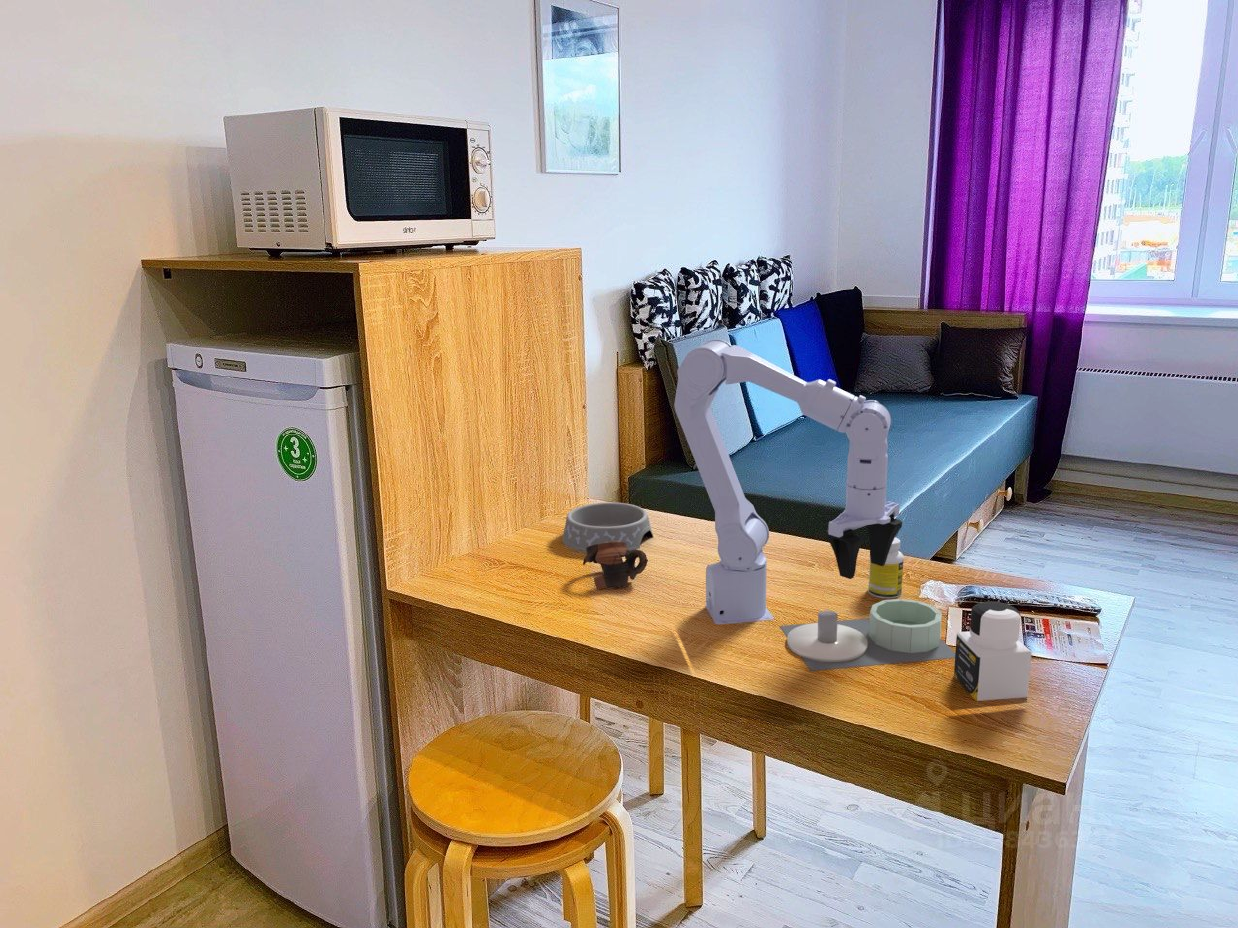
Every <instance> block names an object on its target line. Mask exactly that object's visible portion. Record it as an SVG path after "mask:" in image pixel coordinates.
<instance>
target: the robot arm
mask: <svg viewBox="0 0 1238 928" xmlns="http://www.w3.org/2000/svg"><path fill="white" fill-rule="evenodd" d="M676 372H677V377H678V379H677V384H676V390H675V391H676V392H675V398H674V404H673V407H674V411H675V414H676V417H677V419H678V421H679V423H680V426H681V428H682V431H683V433H684V436H685V439H686V441H687V444H688V447H689V449H690V451H691V455H692V456H693V459H694V461H695V465H696V467H697V469H698V472H699V475H700V478H701V479H702V483H703V486H704V487H705V489H706V492H707V494H708V498H709V500H710V502H711V505H712V507H713V509H714V519H715V520H714V530H715V533H716V536H717V541H718V542H717V543H718V544H717V554H718V556H719V559H720V561H717V562H716V563H711V564H708V565H706V569H705V604H704V607H705V608H706V610H707V612H708V613H709V615H710V617H711V619H712V620H713V623H714V624H715V625H727V624H738V623H751V622H761V621H772V620H774V619H775V617H773V614H772V613H771V612H770V611H769V609H768V608H767V563H768V561H767V556H766V555H765V554H764V551H763V548H764V547H765V546H766V544H767V543H768V542H769V538H770V530H769V526H768V524H767V523H766V521H765V520H764V519H763V518H762V517H761V516H760V515H759V514H758V513H757V511H756V509H755V507H754V505H753V504H752V503H751V502H750V500H748V499H747V498H746V497H745V493H744V492H743V489H742V485H741V484H740V481H739V479H738V475H737V473H736V470H735V467H734V466H733V463H732V460H731V458H730V455H729V453H728V450H727V448H726V444H725V442H724V439H723V436H722V433H721V432H720V430H719V427H718V424H717V422H716V419H715V416H714V414H713V411H712V409H711V404H712V402H713V400H714V398H715V397H716V395H717V393H718V390H719V388H720V387H721V385H722V384H723V383H725V385H732V384H733V385H734V384H740V383H745V382H746V383H747V382H750V383H751V384H754V385H756V386H759V387H760V388H764V389H765V390H767V391H770V392H773V393H775V394H778V395H779V396H782V397H784V398H787V399H789V400H790V401H794V402H796V403H797V405H798V407H799V409H800V412H801V414H802V415H804V416H805V417H808V418H810V419H811V420H813V421H816V422H818V423H820V424H822V425H824V426H826V427H828V428H830V429H832V430H835V431H836V432H838V433H844V434H846V436H847V439H848V440H849V447H848V449H849V451H848V454H847V467H846V469H847V470H846V490H845V492H846V493H845V509H844V510H843V512H842V513H841V512H840V514H839V515H838V516H836V517H835V519H833V520H831V521H829V522H828V528H827V529H826V530H825V538H826V539H827V541H828V543H829V544H830V546H831V548H832V551H833V553H834V556H835V561H836V564H837V568H838V573H839V576H840V577H843V578H846V579H848V580H852V579H854V577H855V575H856V569H857V560H858V555H859V552H860V549H861V547H862V544H863V542H864V540H865V538H863V537H860V536H857V535H855V534H856V533H854V530H857V529H859V528H863V527H866V528H867V532H868V539H869V560H870V559H871V563H873V564H876V565H880V566H884V565H885V562H886V559H887V556H888V553H889V550H890V547H891V545H892V542H893V540H894V538H895V537H897V534H898V533H899V532H900V530H901V528H902V527H903V521H902V520H900V519H898V518H896V517H899V516H900V503H897V502H893V501H890V500H889V501H887V500H886V496H887V484H888V483H887V480H888V464H889V463H888V462H889V461H888V457H889V455H888V453H887V452H888V447H889V446H888V436H889V430H890V427H891V424H892V423H891V422H892V419H891V415H890V412H889V410H888V409H887V408H886V406H884V405H883V404H881V403H880V402H879V401H878V400H874V399H868V400H867V397H865V396H863V395H861V394H860V395H859V396H855V395H854V394H852V393H851V392H848V391H845V390H843V389H841V388H839V387H837V386H836V385H837V382H836V381H835V380H832V379H830V378H829V379H827V380H826V381H825V380H822V379H820V378H819V379H816V380H813V381H805V380H803V379H801V378H800V377H798V376H796V375H794V374H792V373H791V372H789V371H787V370H785V369H783V368H781V367H779V366H777V365H776V364H774V363H772V362H770V361H767V360H766V359H764V358H762V357H760V356H759V355H757V354H755V353H753V352H751V351H749V350H747V349H745V348H744V347H742V346H739V345H735V344H733V345H731V343H729V342H728V341H726V340H724V339H719V338H715V339H710V340H708V341H706V342H705V343H703V344H702V345H701V346H699V347H695V348H693V349H691V350H689V352H688V353H687V354H686V355H685V357H684V359H683V360H682V362H681V364H680V365H679V367H678V369H677V371H676Z"/></svg>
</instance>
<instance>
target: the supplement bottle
mask: <svg viewBox="0 0 1238 928" xmlns="http://www.w3.org/2000/svg"><path fill="white" fill-rule="evenodd" d="M900 548H901V540H900V538H899V537H898V538H897V536H895V538H894V540H893V542H892V545H891V547H890V550H889V553H888V556H887V559H886V562H885V565H884V566H880V565H876V564H873V563H871V559H870V558H869V567H868V568H869V570H868V589H867V591H868V594H870V595H871V596H873V597H875V598H880V599H897V598H899V597H900V596H901V595H902V592H903V590H902V589H903V574H904V559H905V557H904V554H903V553H902V552H901V551H899V550H900Z"/></svg>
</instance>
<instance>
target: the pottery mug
mask: <svg viewBox="0 0 1238 928" xmlns="http://www.w3.org/2000/svg"><path fill="white" fill-rule="evenodd" d="M626 545H627V544H626V543H625V542H618V541H615V542H605V543H600V544H595V545H592V546H589V547H587V548H586V551H587V553H586V555H585V557H584V558H583V562H582V565H583V566H585V565H586V564H587V563H590V564H591V563H593V564H599V565H600V567H601V570H602V574H601V575H598V576H595V577H593V581H594V585H595V588H596V590H602V589H604V590H605V589H611V588H614V589H617V588H628V587H629V586H628V584H629V579H630V580H632V581H634V580H635V578H636V576H637V575H639V574H641V573H642V572H644V570H645V569H646V567H647V565H648V562H649V560H648V557H647V554H646V552H644V551H643V550H640V549H636V550H631V551H629V550H628V549H627V546H626ZM623 558H624V559H625V560H623ZM637 559H638V561H639V562H638V563H637V565H636V560H637Z"/></svg>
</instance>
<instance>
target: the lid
mask: <svg viewBox="0 0 1238 928" xmlns="http://www.w3.org/2000/svg"><path fill="white" fill-rule="evenodd" d="M817 613H818V614H817V622H811V623H812V624H807V623H804V624H805V625H802V626H799V627H796V628H794V629H793V630H791V631H790V632H789V634H788V636H786V637H787V638H786V639H787V640H786V643H787V647H788V648H789V650H790V651H792V652H793V653H794V654H796V655H797V656H799V657H800V658H801V657H804V658H807V659H810V660H814V661H820V662H846V661H851V660H854V659H857V658H859V657H861V656H862V655H864V654H865V653H866V651H867V648H868V641H867V638H866V637H865V636H864V635H863V634H862V633H861V632H859V631H857V630H855V629H853V628H850V627H847V626H844V625H839V624H837V622H838V621H839V619H838V618H839V617H838V613H837V612H835V611H833V610H821V611H819V612H817Z"/></svg>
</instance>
